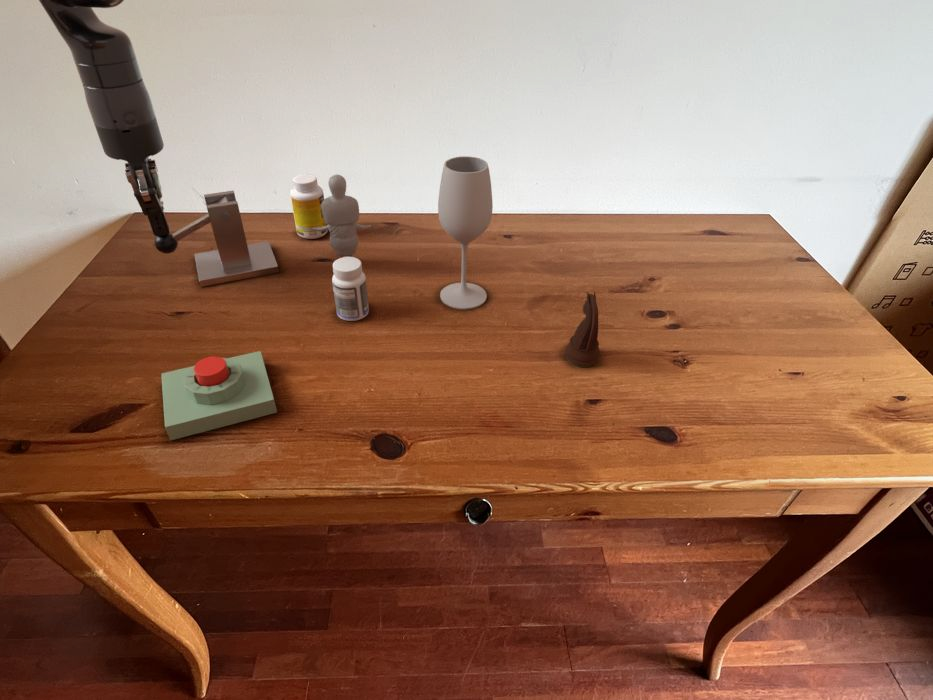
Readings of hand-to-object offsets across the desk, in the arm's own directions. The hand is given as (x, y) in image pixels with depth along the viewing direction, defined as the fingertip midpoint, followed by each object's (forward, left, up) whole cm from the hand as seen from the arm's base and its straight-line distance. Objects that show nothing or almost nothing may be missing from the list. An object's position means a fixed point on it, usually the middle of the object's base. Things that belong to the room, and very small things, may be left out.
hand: (162, 233), depth 92 cm
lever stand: (+9, 0, -8) cm, 12 cm away
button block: (+3, -32, -8) cm, 33 cm away
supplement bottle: (+23, +7, -8) cm, 26 cm away
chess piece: (+49, -42, -8) cm, 65 cm away
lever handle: (+5, 0, -1) cm, 5 cm away
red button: (+3, -32, -4) cm, 33 cm away
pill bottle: (+23, -20, -8) cm, 32 cm away
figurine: (+26, -5, -8) cm, 28 cm away
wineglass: (+40, -22, -8) cm, 47 cm away
